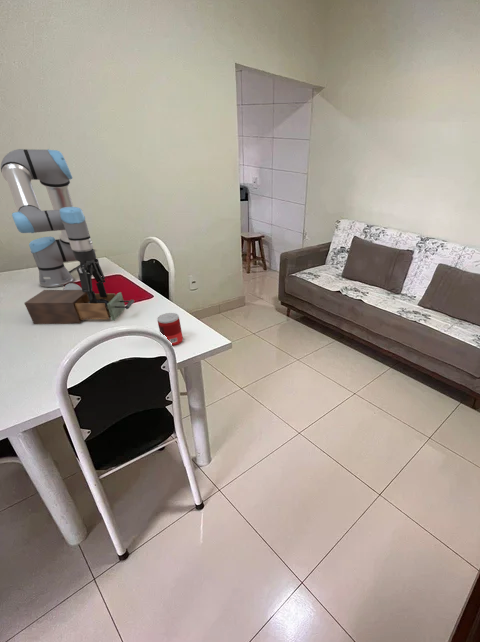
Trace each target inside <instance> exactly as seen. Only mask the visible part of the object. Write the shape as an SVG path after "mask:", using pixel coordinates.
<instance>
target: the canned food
mask: <svg viewBox="0 0 480 642" xmlns="http://www.w3.org/2000/svg"><path fill="white" fill-rule="evenodd" d="M156 321H157V326H158V330H159V333H160V332H161V333H162V334H163V335H165V336H166V337H167V339H168V340H169V341H170V342H171V343H172V345H173V346H172V347H175V346H179V345H180V344H182V342H183V340H184V337H183V331H182V326H181V321H180V316H179V314H178V313H176V312H166V313H162V314H160V315H158V316H157V318H156Z"/></svg>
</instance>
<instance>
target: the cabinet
mask: <svg viewBox="0 0 480 642" xmlns="http://www.w3.org/2000/svg"><path fill="white" fill-rule="evenodd" d="M85 294H87V293H86V292H83V291H82V290H63V289H43V290H42V291H40V292H39V293H37V294H36V295H34V296H32V297H31V298H29V299H28V300H26V301H25V302H24V306H25V308H26V310H27V312H28V314H29V317H30V319H31V321H32V323H33V325H62V324H63V325H75V324H76V325H78V324H79V325H80V324H82V323H83V322H84V321H85V320H86V319H80V318H79V315H78V313H77V310H76V307H75V305H74V304H75V303H76V302H77V301H78V300H80V299H81V298H82V297H83V296H84V295H85Z"/></svg>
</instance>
